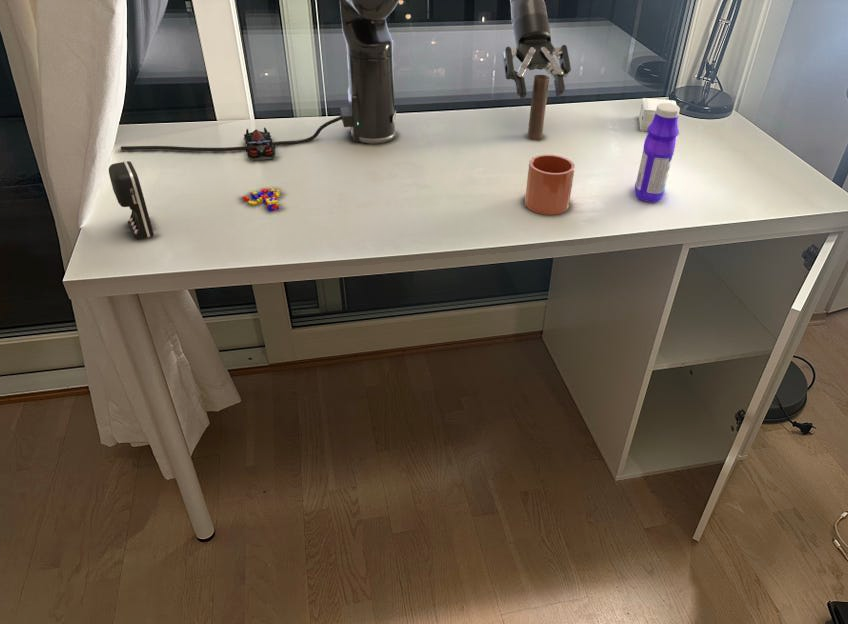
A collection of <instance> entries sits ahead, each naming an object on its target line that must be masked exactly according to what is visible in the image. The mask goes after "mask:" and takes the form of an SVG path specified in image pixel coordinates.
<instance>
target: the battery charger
mask: <svg viewBox="0 0 848 624" xmlns="http://www.w3.org/2000/svg"><path fill="white" fill-rule="evenodd" d="M108 175H109V178H110V183H111V187H112V190H113V194H114V196H115V198H116V200H117V203H118V205H120V207H122V208H129V210H130V211H131V213H130V217H129V219H128V220H127V225H128V228H129V230H130V232H131V234H132V236H133V238H134V239H145V238H151V237H153V236H154V235H155V233H154V230H153V226H152V221H151V218H150V215H149V211H148V208H147V203H146V200H145V197H144V193H143V190H142V186H141V183H140V179H139V175H138V173H137V171H136V168H135V167H134V165H133V162H132V161H130V160H123V161H122V162H116V163H115V162H114V163H111V164H110V165H109V167H108Z"/></svg>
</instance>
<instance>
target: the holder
mask: <svg viewBox="0 0 848 624" xmlns="http://www.w3.org/2000/svg"><path fill="white" fill-rule="evenodd" d="M575 166H576V165H575V163H574V162H573V160H570V159H569V158H567V157H564V156H562V155H556V154H540V155H536V156H533V157H532V158H531V159H529V161H528V170H527V178H526V188H525V197H524V205H525V207H527V209H529V211H532V212H533V213H536V214H540V215H546V216H554V215H555V216H556V215H560V214H563V213H565V212H567V211H568V209H569V206H570V201H571V194H572V188H573V182H574V175H575V168H576V167H575Z"/></svg>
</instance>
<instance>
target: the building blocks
mask: <svg viewBox="0 0 848 624" xmlns="http://www.w3.org/2000/svg"><path fill="white" fill-rule="evenodd" d="M264 194H265V195H264ZM280 195H281V193H280V189H276V188H274V187H272V186H269V188H262V189H261V190H260V192H257V191H256V190H254V191H252V190H249V196H250V197H251V200H250V198H249V197H247V196H246V195H245V196H242V200H243V201H244V202H245V203H246V202H248V205H249V206H257V205H259V204H260V203H261V204H262V203H263V204H264V205H265V207H266V208H267V210H268V211H269V212H273V211H278V210H279V209H280V207H279V201H278V199H277V198H280ZM254 200H256V201H254Z"/></svg>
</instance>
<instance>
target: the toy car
mask: <svg viewBox="0 0 848 624" xmlns="http://www.w3.org/2000/svg"><path fill="white" fill-rule="evenodd" d="M243 136H244V137H243V141H244V143H245V145H246V146H247V147H245V150H244V151H245V153H246V154H247V157H248V159H250V160H251V161H254V160H255V161H260V160H261V161H262V160H269V159H272V160H273V159H274V157H275V156H276V148H277V147H276V145H273V143H272V142H274V141H273V138H272V135H271V132H270V131H268V130H267V128H266V127H265V126H264V127H263V131H260V130H259V129H256V128H255V129H254V130H253V131H252V132H249V129H248V128H246V130H245V133H244V134H243Z"/></svg>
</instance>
